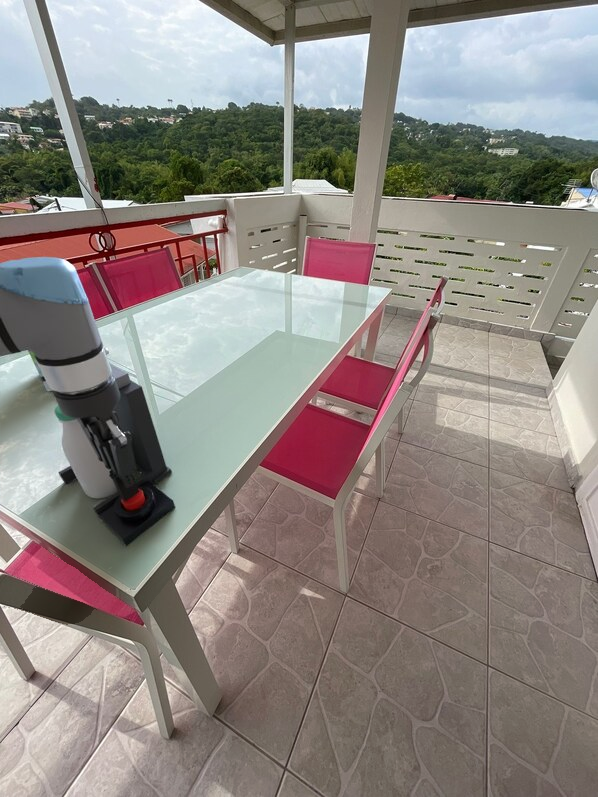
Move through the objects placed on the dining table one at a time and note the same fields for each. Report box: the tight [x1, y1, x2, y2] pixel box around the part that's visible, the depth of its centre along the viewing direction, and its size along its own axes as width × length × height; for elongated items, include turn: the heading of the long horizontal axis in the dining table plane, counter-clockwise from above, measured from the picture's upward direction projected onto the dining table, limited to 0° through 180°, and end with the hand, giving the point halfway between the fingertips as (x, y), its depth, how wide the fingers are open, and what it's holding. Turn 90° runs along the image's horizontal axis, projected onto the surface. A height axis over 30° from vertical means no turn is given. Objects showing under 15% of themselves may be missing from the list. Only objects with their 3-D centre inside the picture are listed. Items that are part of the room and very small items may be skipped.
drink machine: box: [58, 362, 173, 521], centre depth 62 cm, size 15×16×24 cm
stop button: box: [121, 489, 145, 511], centre depth 59 cm, size 4×4×2 cm
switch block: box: [99, 481, 176, 547], centre depth 61 cm, size 10×8×4 cm
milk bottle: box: [54, 404, 117, 499], centre depth 62 cm, size 8×8×20 cm
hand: (129, 494), depth 58 cm, fingers closed
